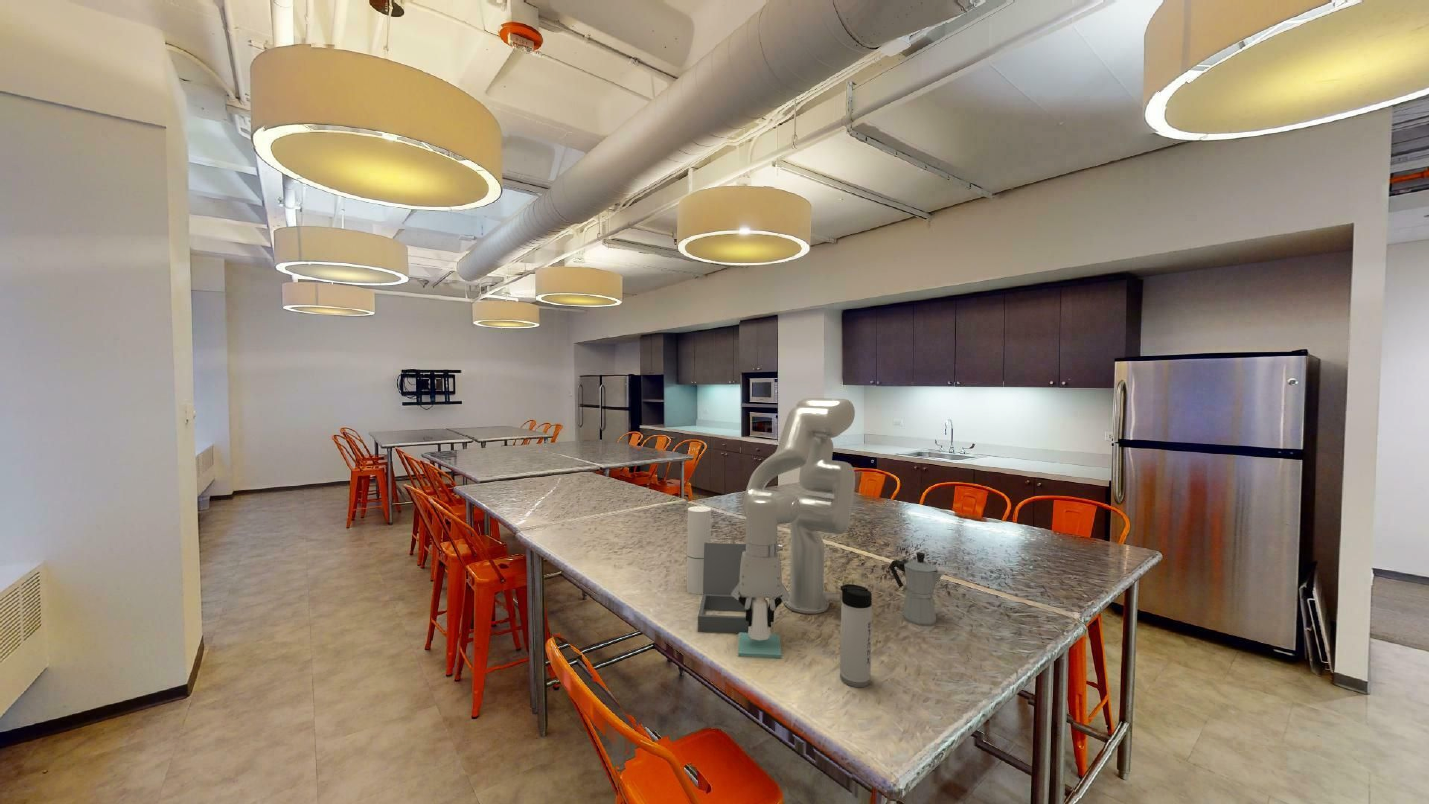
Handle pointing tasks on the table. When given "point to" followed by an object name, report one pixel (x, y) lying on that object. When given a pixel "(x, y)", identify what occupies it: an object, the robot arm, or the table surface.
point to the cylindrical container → (697, 546)
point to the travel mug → (855, 635)
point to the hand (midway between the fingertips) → (759, 623)
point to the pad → (759, 646)
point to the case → (719, 621)
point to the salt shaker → (759, 620)
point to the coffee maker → (918, 589)
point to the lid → (721, 567)
